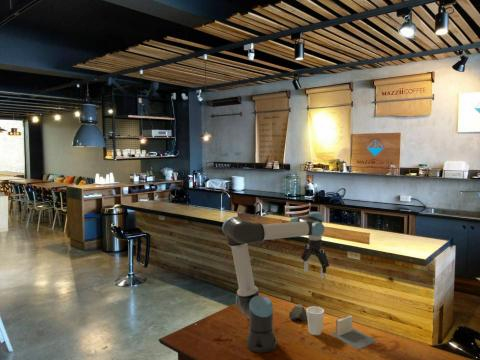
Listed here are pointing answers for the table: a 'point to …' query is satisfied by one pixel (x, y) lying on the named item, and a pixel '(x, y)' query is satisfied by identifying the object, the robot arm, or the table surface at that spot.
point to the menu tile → (344, 325)
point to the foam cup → (315, 319)
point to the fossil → (298, 313)
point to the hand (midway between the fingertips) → (314, 274)
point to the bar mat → (355, 339)
